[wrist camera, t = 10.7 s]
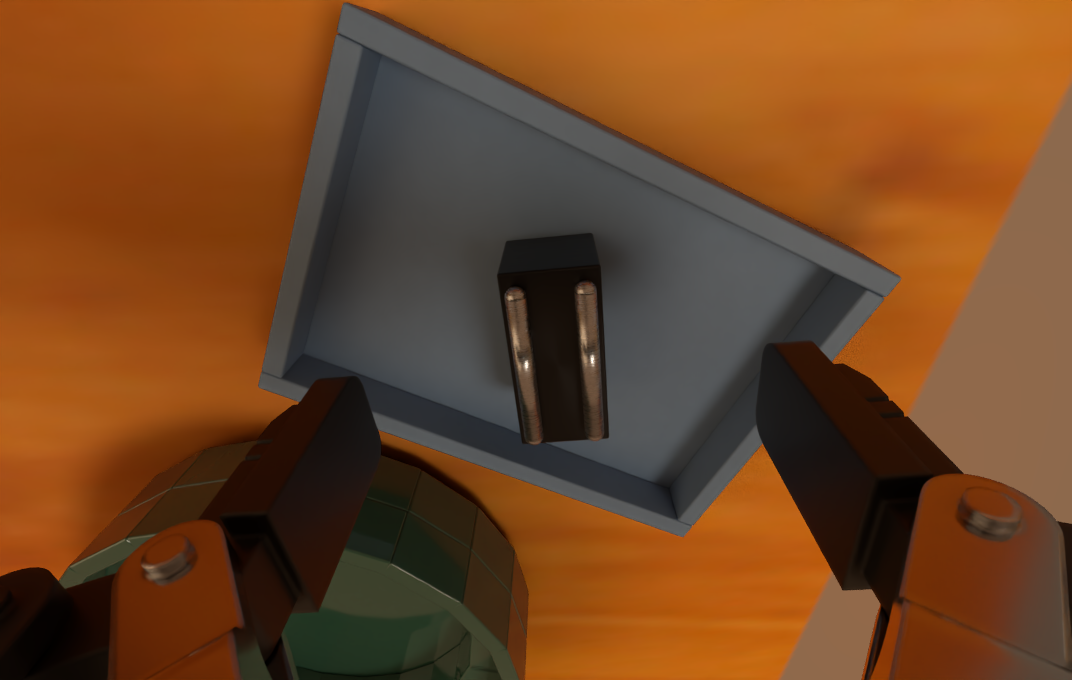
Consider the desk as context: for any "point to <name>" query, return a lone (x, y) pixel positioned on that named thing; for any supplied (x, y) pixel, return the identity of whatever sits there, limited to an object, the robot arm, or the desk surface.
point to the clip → (555, 337)
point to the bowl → (368, 576)
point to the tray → (525, 213)
